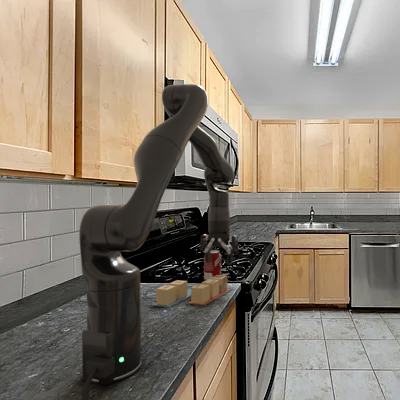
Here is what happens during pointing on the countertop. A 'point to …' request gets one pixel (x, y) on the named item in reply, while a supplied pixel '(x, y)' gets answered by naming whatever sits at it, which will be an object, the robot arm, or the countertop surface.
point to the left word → (172, 293)
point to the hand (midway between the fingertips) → (219, 263)
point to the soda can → (212, 265)
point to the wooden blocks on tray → (205, 292)
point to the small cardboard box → (221, 282)
